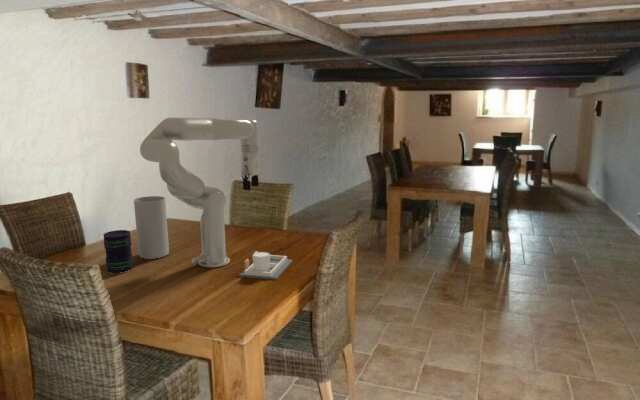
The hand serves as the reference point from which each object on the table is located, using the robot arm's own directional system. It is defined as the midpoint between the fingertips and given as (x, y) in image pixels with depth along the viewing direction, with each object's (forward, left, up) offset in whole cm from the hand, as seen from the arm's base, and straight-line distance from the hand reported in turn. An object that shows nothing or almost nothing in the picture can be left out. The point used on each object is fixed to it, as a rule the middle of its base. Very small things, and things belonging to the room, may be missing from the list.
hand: (251, 187), depth 204 cm
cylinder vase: (-34, +26, -28) cm, 51 cm away
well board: (-12, -23, -28) cm, 39 cm away
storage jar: (-52, +19, -28) cm, 62 cm away
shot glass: (-17, -26, -28) cm, 42 cm away
